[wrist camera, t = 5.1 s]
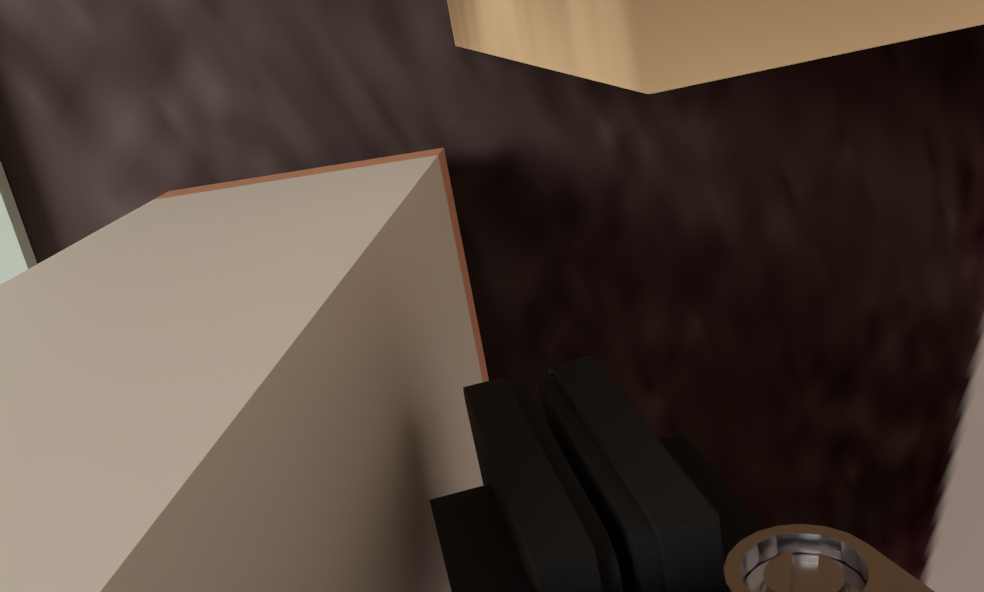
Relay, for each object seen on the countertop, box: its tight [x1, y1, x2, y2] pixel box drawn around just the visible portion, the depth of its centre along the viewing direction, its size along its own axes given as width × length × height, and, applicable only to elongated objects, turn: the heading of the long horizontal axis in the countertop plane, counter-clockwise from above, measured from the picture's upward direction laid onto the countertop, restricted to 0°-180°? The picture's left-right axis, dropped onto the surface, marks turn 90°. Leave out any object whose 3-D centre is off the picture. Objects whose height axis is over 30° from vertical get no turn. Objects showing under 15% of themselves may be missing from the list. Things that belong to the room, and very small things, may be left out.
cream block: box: [0, 148, 489, 592], centre depth 11 cm, size 7×5×12 cm
